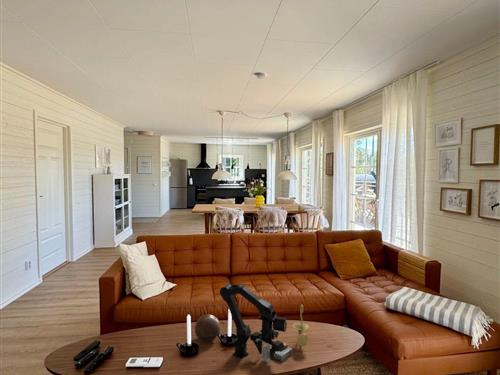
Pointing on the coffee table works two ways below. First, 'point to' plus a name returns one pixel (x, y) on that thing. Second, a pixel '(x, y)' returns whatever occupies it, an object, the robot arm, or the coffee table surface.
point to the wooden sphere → (207, 328)
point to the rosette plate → (283, 353)
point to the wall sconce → (301, 330)
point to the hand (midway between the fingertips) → (266, 356)
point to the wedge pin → (266, 353)
